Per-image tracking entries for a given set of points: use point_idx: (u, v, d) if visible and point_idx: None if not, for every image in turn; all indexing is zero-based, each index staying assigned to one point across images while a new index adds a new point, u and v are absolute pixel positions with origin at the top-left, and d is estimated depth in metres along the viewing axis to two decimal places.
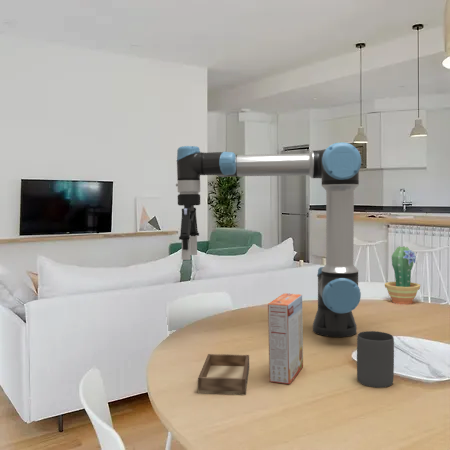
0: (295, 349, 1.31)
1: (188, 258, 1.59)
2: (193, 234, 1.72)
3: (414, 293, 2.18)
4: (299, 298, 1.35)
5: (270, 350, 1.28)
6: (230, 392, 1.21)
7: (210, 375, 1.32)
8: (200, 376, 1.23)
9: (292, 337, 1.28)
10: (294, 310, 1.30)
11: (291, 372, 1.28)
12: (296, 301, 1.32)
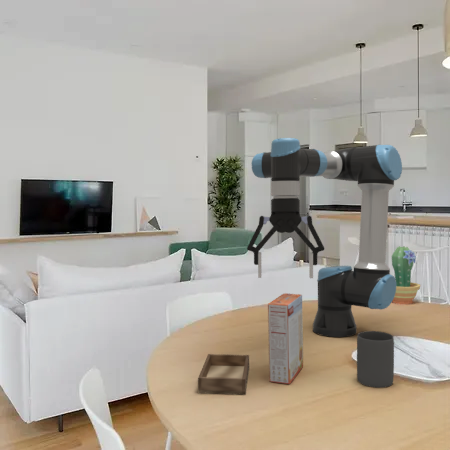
0: (295, 349, 1.31)
1: (258, 275, 1.32)
2: (312, 251, 1.31)
3: (414, 293, 2.18)
4: (299, 298, 1.35)
5: (270, 350, 1.28)
6: (230, 392, 1.21)
7: (210, 375, 1.32)
8: (200, 376, 1.23)
9: (292, 337, 1.28)
10: (294, 310, 1.30)
11: (291, 372, 1.28)
12: (296, 301, 1.32)
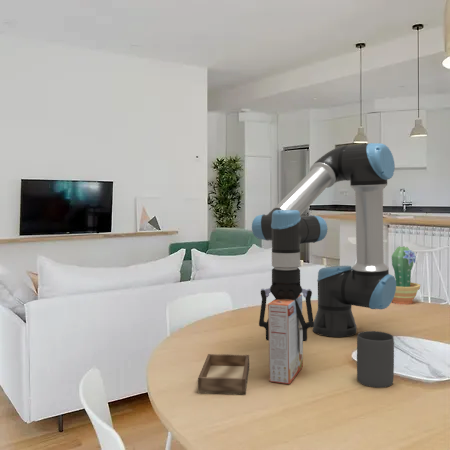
0: (295, 349, 1.31)
1: None
2: None
3: (414, 293, 2.18)
4: (299, 298, 1.35)
5: (270, 350, 1.28)
6: (230, 392, 1.21)
7: (210, 375, 1.32)
8: (200, 376, 1.23)
9: (292, 337, 1.28)
10: (294, 310, 1.30)
11: (291, 372, 1.28)
12: None
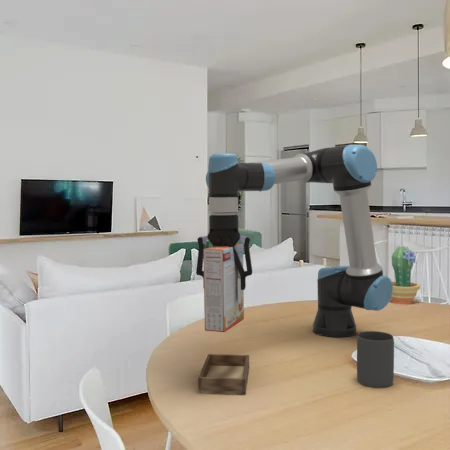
0: (233, 298, 1.27)
1: None
2: None
3: (414, 293, 2.18)
4: (239, 247, 1.31)
5: (205, 297, 1.24)
6: (230, 392, 1.21)
7: (210, 375, 1.32)
8: (200, 376, 1.23)
9: (228, 284, 1.24)
10: (231, 257, 1.26)
11: (227, 320, 1.24)
12: (235, 249, 1.28)
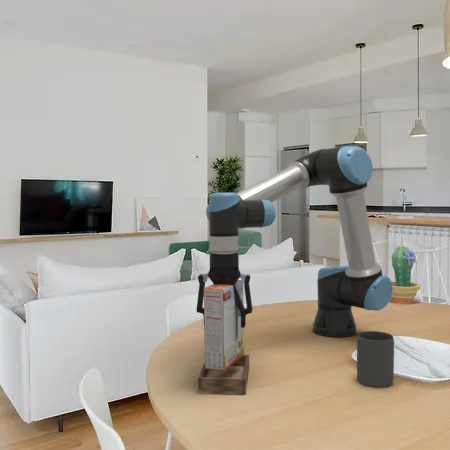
0: (233, 336, 1.27)
1: None
2: None
3: (414, 293, 2.18)
4: (239, 284, 1.31)
5: (205, 336, 1.24)
6: (230, 392, 1.21)
7: (210, 375, 1.32)
8: (200, 376, 1.23)
9: (228, 323, 1.24)
10: (232, 295, 1.26)
11: (227, 359, 1.24)
12: (235, 286, 1.28)
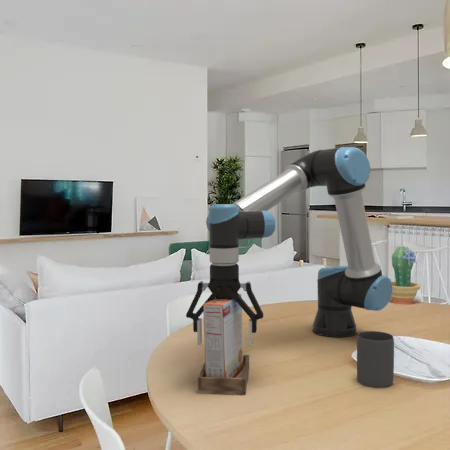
0: (233, 350, 1.28)
1: None
2: None
3: (414, 293, 2.18)
4: None
5: (206, 352, 1.24)
6: (230, 392, 1.21)
7: None
8: (200, 376, 1.23)
9: (228, 338, 1.25)
10: (231, 310, 1.27)
11: (228, 374, 1.25)
12: (234, 301, 1.29)
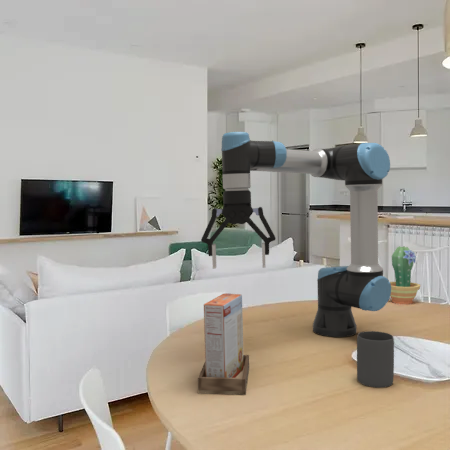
0: (233, 351, 1.28)
1: None
2: None
3: (414, 293, 2.18)
4: (238, 298, 1.32)
5: (206, 352, 1.24)
6: (230, 392, 1.21)
7: None
8: (200, 376, 1.23)
9: (229, 339, 1.25)
10: (231, 310, 1.27)
11: (228, 374, 1.25)
12: (234, 301, 1.29)
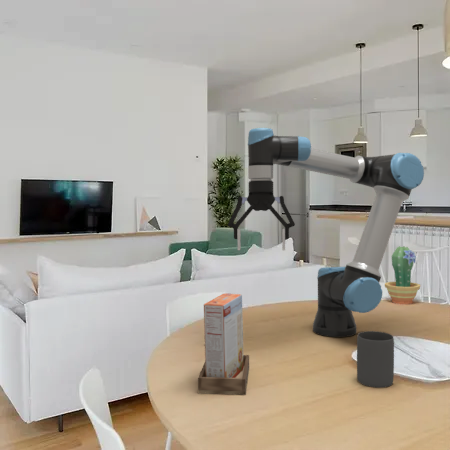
0: (233, 351, 1.28)
1: None
2: (284, 226, 1.50)
3: (414, 293, 2.18)
4: (238, 298, 1.32)
5: (206, 352, 1.24)
6: (230, 392, 1.21)
7: None
8: (200, 376, 1.23)
9: (229, 339, 1.25)
10: (231, 310, 1.27)
11: (228, 374, 1.25)
12: (234, 301, 1.29)
